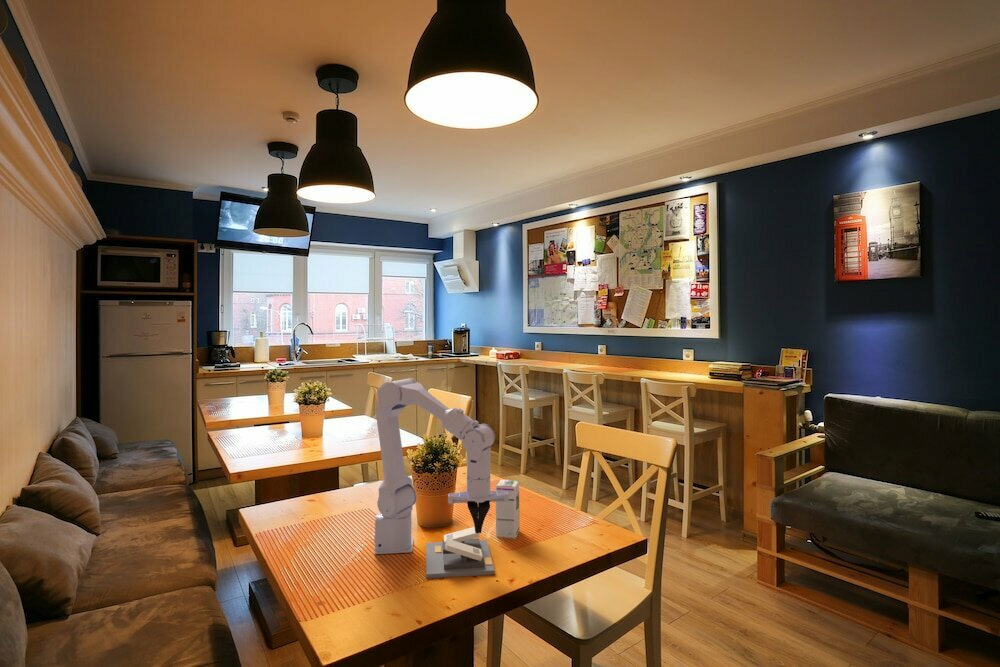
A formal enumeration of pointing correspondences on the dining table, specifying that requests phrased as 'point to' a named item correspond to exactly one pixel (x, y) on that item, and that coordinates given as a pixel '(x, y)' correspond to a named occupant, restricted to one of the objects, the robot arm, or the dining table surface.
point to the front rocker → (463, 549)
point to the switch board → (457, 561)
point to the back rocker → (462, 535)
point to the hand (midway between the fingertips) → (478, 531)
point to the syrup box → (508, 510)
